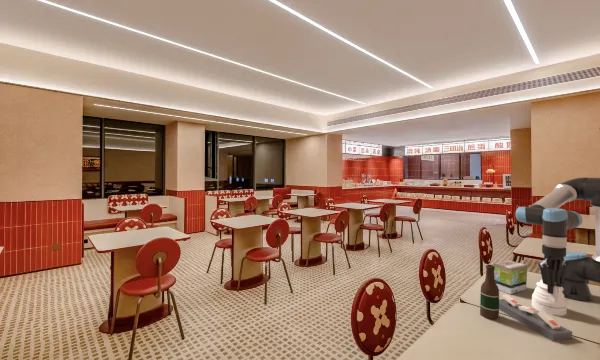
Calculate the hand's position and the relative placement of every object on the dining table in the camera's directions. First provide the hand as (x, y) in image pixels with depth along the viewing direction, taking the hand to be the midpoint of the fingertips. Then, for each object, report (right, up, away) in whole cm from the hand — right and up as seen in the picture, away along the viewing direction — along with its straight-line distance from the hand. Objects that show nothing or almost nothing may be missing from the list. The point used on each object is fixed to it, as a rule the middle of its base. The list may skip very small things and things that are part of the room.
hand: (552, 300), depth 118 cm
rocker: (-4, -8, +18) cm, 20 cm away
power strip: (-3, -13, +9) cm, 16 cm away
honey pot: (+16, -13, +20) cm, 29 cm away
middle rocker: (-3, -8, +9) cm, 12 cm away
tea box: (+14, -12, +42) cm, 46 cm away
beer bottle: (-18, -13, +14) cm, 26 cm away
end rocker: (-1, -8, 0) cm, 9 cm away
